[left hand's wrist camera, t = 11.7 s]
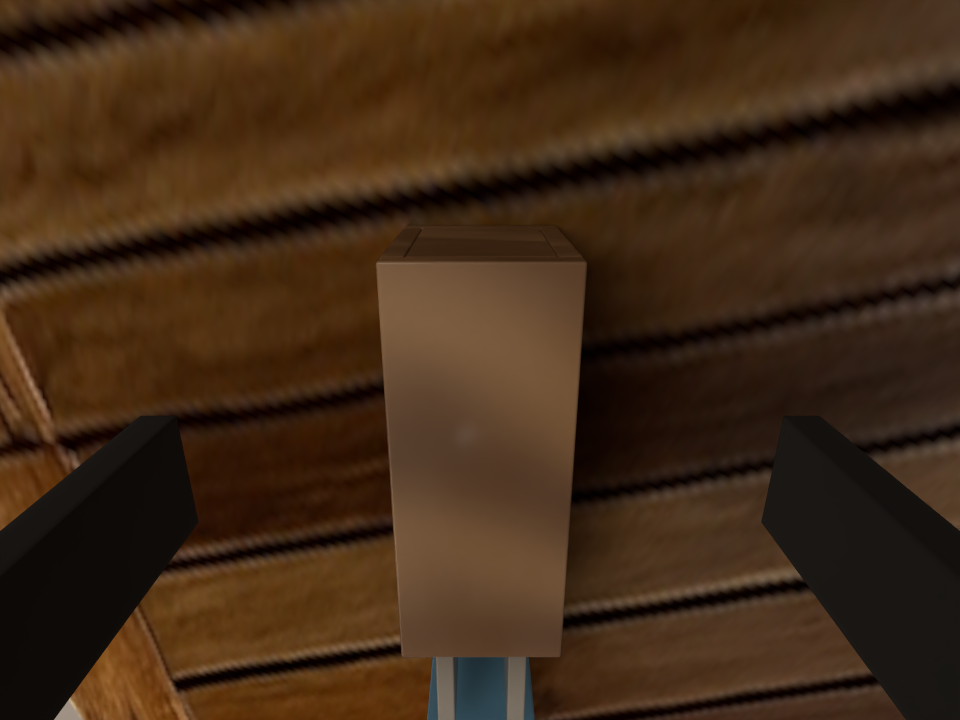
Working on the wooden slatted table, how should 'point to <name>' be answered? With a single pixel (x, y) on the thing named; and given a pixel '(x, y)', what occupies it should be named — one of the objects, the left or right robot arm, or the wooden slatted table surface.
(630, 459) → the wooden slatted table surface
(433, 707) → the drawer
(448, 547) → the cabinet
